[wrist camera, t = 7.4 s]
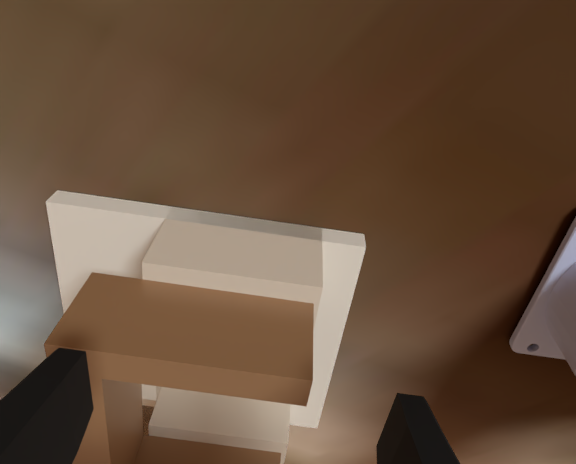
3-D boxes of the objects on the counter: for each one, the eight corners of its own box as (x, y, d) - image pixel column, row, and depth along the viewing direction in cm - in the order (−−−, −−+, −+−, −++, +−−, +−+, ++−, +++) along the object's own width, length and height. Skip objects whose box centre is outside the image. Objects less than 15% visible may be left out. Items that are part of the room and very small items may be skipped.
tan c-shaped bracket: (313, 303, 17) (312, 380, 14) (277, 467, 23) (271, 547, 20) (91, 272, 17) (44, 343, 14) (110, 445, 22) (79, 523, 19)
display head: (364, 234, 20) (373, 294, 17) (317, 412, 27) (317, 482, 23) (57, 190, 20) (3, 242, 16) (85, 381, 26) (50, 448, 23)
